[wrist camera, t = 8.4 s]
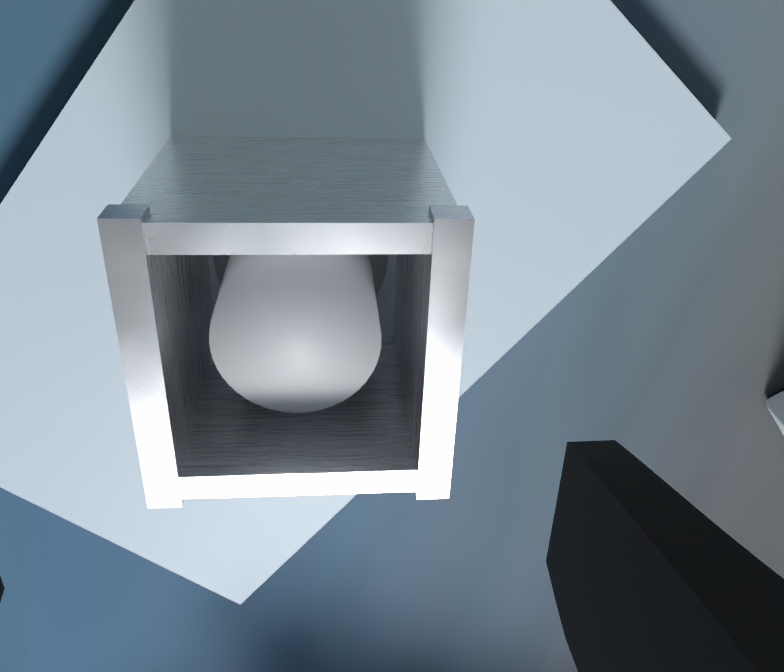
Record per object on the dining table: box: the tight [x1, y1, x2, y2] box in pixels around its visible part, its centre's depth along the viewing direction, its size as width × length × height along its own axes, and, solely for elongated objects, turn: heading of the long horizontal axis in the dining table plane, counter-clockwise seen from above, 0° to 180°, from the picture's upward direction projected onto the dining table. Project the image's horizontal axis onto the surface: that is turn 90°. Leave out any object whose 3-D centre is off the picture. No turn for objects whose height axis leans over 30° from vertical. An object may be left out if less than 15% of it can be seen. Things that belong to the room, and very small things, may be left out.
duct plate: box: [0, 0, 731, 604], centre depth 15 cm, size 18×11×5 cm, turn 138°
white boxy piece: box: [97, 136, 475, 508], centre depth 14 cm, size 5×5×5 cm
